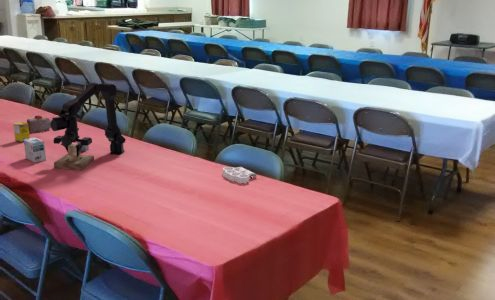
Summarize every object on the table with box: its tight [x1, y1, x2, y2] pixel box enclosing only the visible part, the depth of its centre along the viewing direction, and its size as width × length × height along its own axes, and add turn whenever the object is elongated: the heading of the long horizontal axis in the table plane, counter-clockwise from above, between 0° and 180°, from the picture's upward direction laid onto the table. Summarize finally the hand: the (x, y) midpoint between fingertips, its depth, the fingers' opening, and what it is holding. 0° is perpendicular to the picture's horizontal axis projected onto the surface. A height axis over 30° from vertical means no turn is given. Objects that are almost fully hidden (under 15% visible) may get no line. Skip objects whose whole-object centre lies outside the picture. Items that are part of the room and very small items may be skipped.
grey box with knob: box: [26, 115, 52, 134], centre depth 337 cm, size 14×8×10 cm, turn 133°
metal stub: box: [80, 145, 89, 153], centre depth 300 cm, size 4×4×5 cm
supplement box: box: [13, 121, 31, 144], centre depth 314 cm, size 6×6×11 cm
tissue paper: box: [222, 166, 258, 184], centre depth 264 cm, size 3×18×15 cm
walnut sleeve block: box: [53, 153, 95, 171], centre depth 277 cm, size 15×15×3 cm
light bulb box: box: [23, 137, 47, 163], centre depth 282 cm, size 11×7×11 cm, turn 47°
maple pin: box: [67, 143, 80, 162], centre depth 275 cm, size 4×4×9 cm
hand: (74, 156), depth 276 cm, fingers closed on maple pin, 4 cm apart
